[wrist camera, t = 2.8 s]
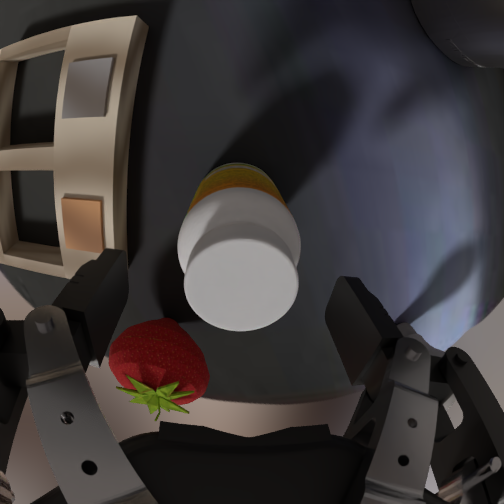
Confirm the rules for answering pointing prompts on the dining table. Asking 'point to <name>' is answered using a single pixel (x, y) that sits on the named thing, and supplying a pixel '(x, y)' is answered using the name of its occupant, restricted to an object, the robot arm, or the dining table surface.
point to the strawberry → (159, 365)
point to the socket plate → (76, 142)
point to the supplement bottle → (239, 250)
